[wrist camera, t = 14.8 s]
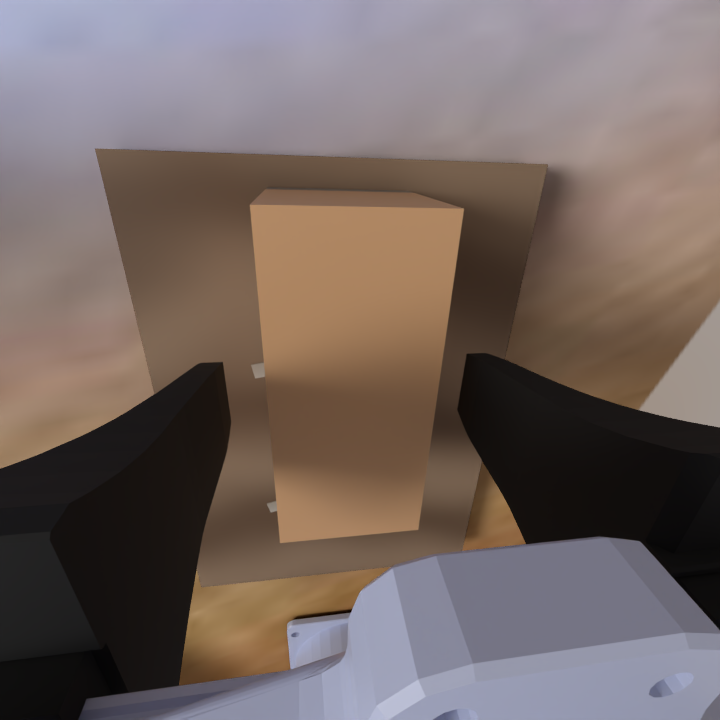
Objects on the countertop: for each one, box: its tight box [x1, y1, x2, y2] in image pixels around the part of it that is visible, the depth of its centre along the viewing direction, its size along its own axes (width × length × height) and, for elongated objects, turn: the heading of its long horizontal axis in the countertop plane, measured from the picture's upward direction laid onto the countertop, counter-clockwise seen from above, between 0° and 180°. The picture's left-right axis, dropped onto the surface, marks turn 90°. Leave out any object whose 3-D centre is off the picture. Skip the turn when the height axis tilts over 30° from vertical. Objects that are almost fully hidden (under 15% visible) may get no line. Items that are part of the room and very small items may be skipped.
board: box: [95, 149, 548, 587], centre depth 17 cm, size 20×14×2 cm
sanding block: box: [250, 187, 464, 543], centre depth 13 cm, size 10×4×5 cm, turn 178°
